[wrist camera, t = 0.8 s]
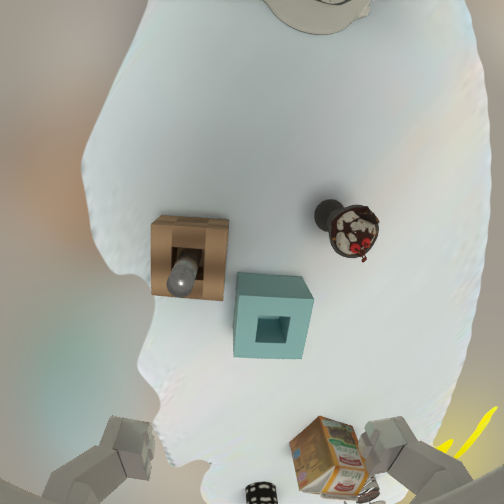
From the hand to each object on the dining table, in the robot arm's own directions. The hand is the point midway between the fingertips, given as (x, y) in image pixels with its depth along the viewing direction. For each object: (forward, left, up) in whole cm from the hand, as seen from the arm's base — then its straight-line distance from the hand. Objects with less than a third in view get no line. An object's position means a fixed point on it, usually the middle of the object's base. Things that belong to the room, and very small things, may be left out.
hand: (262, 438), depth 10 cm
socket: (+5, -6, -37) cm, 38 cm away
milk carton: (+47, +23, -38) cm, 64 cm away
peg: (+5, -6, -36) cm, 37 cm away
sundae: (-2, +14, -38) cm, 40 cm away
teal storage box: (+13, +6, -37) cm, 40 cm away
